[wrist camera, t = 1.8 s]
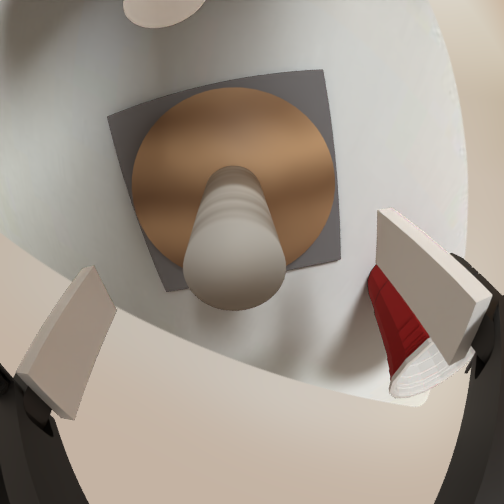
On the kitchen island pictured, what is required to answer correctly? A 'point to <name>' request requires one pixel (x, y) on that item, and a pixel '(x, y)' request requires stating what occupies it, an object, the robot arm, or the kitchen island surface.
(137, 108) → the mat
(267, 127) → the lid
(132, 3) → the champagne flute
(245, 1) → the kitchen island surface
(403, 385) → the plastic cup
